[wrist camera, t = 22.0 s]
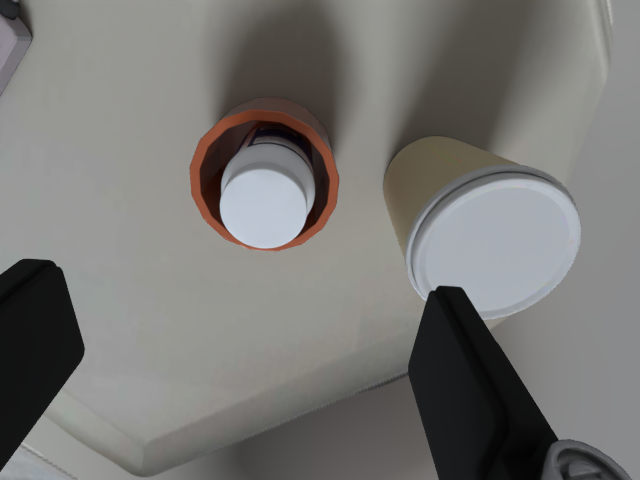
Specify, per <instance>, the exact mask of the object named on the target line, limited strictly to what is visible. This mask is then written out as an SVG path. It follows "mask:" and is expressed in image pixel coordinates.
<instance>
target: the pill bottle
mask: <svg viewBox="0 0 640 480" xmlns="http://www.w3.org/2000/svg"><path fill="white" fill-rule="evenodd" d="M221 194H222V195H221V199H220V214H221V218H222V220H223V223H224V225H225V227H226V228H227V230H228V231H229V232H230V233H231V234H232V235H233V236H234V237H235V238H236V239H238V240H239V241H240V242H242V243H244V244H246V245H249V246H252V247H256V248H275V247H279V246H282V245H284V244H286V243H288V242H290V241H291V240H293V239H294V238H295V237H296V236H297V235H298V234H299V233H300V231H301V230H302V228H303V226H304V224H305V221H306V218H307V215H308V214H309V212H310V210H311V208H312V206H313V203H314V198H315V179H314V170H313V160H312V154H311V151H310V148H309V146H308V144H307V142H306V141H305V139H304V138H303V137H302V136H301V135H300V134H299V133H298V132H296V131H295V130H293V129H292V128H290V127H287V126H284V125H280V124H266V125H262V126H260V127H257V128H255V129H254V130H252V131H251V132H250V133H248V134H247V135H246V136H245V138H244V139H243V140H242V142H241V143H240V145H239V147H238V148H237V150H236V151H235V153H234V155H233V156H232V158H231V160H230V161H229V163H228V164H227V166H226V169H225V171H224V173H223V176H222V182H221Z"/></svg>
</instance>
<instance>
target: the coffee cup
mask: <svg viewBox="0 0 640 480" xmlns="http://www.w3.org/2000/svg"><path fill="white" fill-rule="evenodd" d="M383 191H384V198H385V202H386V205H387V209H388V212H389V215H390V218H391V221H392V224H393V227H394V230H395V233H396V236H397V239H398V242H399V245H400V247H401V250H402V253H403V256H404V259H405V264H406V269H407V273H408V276H409V279H410V281H411V283H412V285H413V287H414V288H415V290H416V291H417V293H418V294H419V295H420V296H421V297H422V298H423V299H424V300H425V301H427V298H428V294H429V292H430V291H432V290H434V291H435V290H436V288H437V287H438V286H440V285H441V286H457V287H462V288H463V290H464V291H465V293H466V294H467V296H468V297H469V299H470V301H471V302H472V304H473V305H474V307H475V309H476V310H477V312H478V314H479V315H480V317H481V318H482V320H487V319H494V318H499V317H504V316H508V315H511V314H513V313H516V312H519V311H521V310H523V309H525V308H527V307H529V306H531V305H532V304H534V303H536V302H538V301H539V300H540V299H542V298H543V297H544V296H545V295H547V294H548V293H549V292H551V290H553V289H554V288H555V287H556V286H557V285H558V283H559V282H560V281H561V280H562V279H563V278H564V276H565V275H566V274H567V272H568V271H569V269H570V267H571V265H572V264H573V262H574V259H575V258H576V255H577V252H578V250H579V246H580V240H581V221H580V217H579V214H578V210H577V208H576V205H575V202H574V200H573V198H572V196H571V194H570V193H569V192H568V190H567V189H566V188H565V187H564V186H563V185H562V184H561V183H560V182H559V181H558V180H556V179H555V178H554V177H552V176H551V175H549V174H547V173H545V172H543V171H540V170H538V169H535V168H531V167H527V166H522V165H519V164H517V163H515V162H512V161H510V160H507V159H505V158H502V157H500V156H497V155H495V154H492V153H490V152H487V151H485V150H482V149H479V148H477V147H474V146H472V145H469V144H467V143H464V142H461V141H459V140H455V139H452V138H449V137H443V136H431V137H425V138H421V139H418V140H416V141H414V142H412V143H410V144H409V145H407V146H406V147H404V148H403V149H402V150H401V151H400V152H398V154H397V155H396V156H395V157H394V158H393V160H392V161H391V163H390V165H389V167H388V169H387V171H386V174H385V178H384V184H383Z"/></svg>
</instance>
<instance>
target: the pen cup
mask: <svg viewBox="0 0 640 480" xmlns="http://www.w3.org/2000/svg"><path fill="white" fill-rule="evenodd" d="M266 124H280V125H284V126H287V127H290V128H292V129H293V130H295V131H296V132H298V133H299V134H300V135H301V136H302V137H303V138H304V139H305V141H306V142H307V144H308V146H309V148H310V151H311V154H312V160H313V170H314V179H315V198H314V203H313V206H312V208H311V210H310V212H309V214H308V215H307V218H306V221H305V224H304V226H303V228H302V230H301V231H300V233H299V234H298V235H297V236H296V237H295V238H294V239H293V240H291V241H290V242H288V243H286V244H284V245H282V246H279V247H275V248H256V247H252V246H249V245H246V244H244V243H242V242H240V241H239V240H238V239H236V238H235V237H234V236H233V235H232V234H231V233H230V232H229V231H228V230H227V228H226V227H225V225H224V223H223V220H222V218H221V214H220V199H221V195H222V194H221V182H222V176H223V173H224V171H225V169H226V166H227V164H228V163H229V161H230V160H231V158H232V156H233V155H234V153H235V151H236V150H237V148H238V147H239V145H240V143H241V142H242V140H243V139H244V138H245V136H246V135H247V134H248V133H250V132H251V131H252V130H254V129H255V128H257V127H260V126H262V125H266ZM190 180H191V194H192V197H193V199H194V201H195V203H196V205H197V207H198V209H199V211H200V213H201V215H202V217H203V219H204V220H205V221H206V222H207V223H208V224H209V225H210V226H211V227H212V228H213V229H215V230H216V231H217V232H218V233H219V234H220V235H221V236H222V237H223V238H225V239H226V240H228V241H231V242H233V243H235V244H238V245H240V246H243V247H245V248H247V249H251V250H264V251H280V250H283V249H287V248H290V247H294V246H297V245H301V244H303V243H304V242H305V241H307V240H308V239H309V238H311V237H312V236H313V235H315V234H316V233H317V232H319V231H320V230H321V229H322V228H323V227H324V226H325V224H326V222H327V221H328V219H329V217H330V215H331V214H332V212H333V210H334V209H335V207H336V203H337V195H338V187H339V175H338V171H337V168H336V164H335V160H334V156H333V153H332V149H331V146H330V142H329V139H328V135H327V132H326V130H325V129H324V128H323V127H322V125H321V124H320V122H319V121H318V120H317V119H316V117H315V116H314V115H313V114H312V113H311V112H310V111H308V110H307V109H305V108H304V107H302V106H301V105H299V104H297V103H295V102H293V101H290V100H287V99H283V98H277V97H260V98H257V99H253V100H250V101H247V102H245V103H242V104H239V105H238V106H236V107H235V108H234V109H233V110H232V111H230V112H229V113H228V114H227V115H226V116H224V117H223V118H222V119H221V120H220V121H219V122H218V123H217V124H216V125H214V126H213V127H212V128H211V129H210V130H209V131H208V132H207V133H206V134H205V135H204V136H203V137H202V138H201V139H200V141H199V143H198V146H197V148H196V151H195V154H194V156H193V159H192V162H191V164H190Z"/></svg>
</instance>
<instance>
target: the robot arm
mask: <svg viewBox="0 0 640 480" xmlns="http://www.w3.org/2000/svg"><path fill="white" fill-rule="evenodd" d="M84 351H85V348H84V343H83V340H82V336H81V333H80V329H79V326H78V322H77V319H76V315H75V312H74V308H73V305H72V302H71V298H70V295H69V291H68V288H67V284H66V281H65V277H64V274H63V271H62V269H61V268H60V267H57V266H56V264H55V263H54V262H53V261H50V260H39V259H22V260H20V261H18V262H17V263H16V264H14V265H13V266H12V267H10V268H9V269H8V270H6V271H5V272H3V273H2V274H1V275H0V472H1V470H2V469H3V467H4V466H5V465H6V463H7V462H8V461H9V459H10V458H11V456H12V455H13V454H14V452H15V451H16V450H17V448H18V447H19V445H20V444H21V443H22V441H23V440H24V438H25V437H26V436H27V435H28V433H29V432H30V430H31V429H32V428H33V426H34V425H35V424H36V422H37V421H38V419H39V418H40V417H41V415H42V414H43V413H44V411H45V410H46V409H47V407H48V406H49V404H50V403H51V402H52V400H53V399H54V398H55V396H56V395H57V393H58V392H59V391H60V389H61V388H62V387H63V385H64V384H65V383H66V381H67V380H68V378H69V377H70V376H71V374H72V373H73V372H74V370H75V369H76V367H77V366H78V365H79V363H80V362H81V360H82V358H83V356H84ZM408 373H409V378H410V382H411V385H412V389H413V392H414V395H415V399H416V403H417V406H418V409H419V413H420V416H421V419H422V423H423V426H424V430H425V433H426V436H427V440H428V443H429V447H430V450H431V453H432V457H433V461H434V464H435V467H436V471H437V474H438V478H439V480H632V479H631V478H630V476H629V475H628V474H627V473H626V471H625V470H624V469H623V468H622V467H620V466H619V465H618V464H617V463H616V462H615V461H614V460H612V458H610V457H609V456H607V455H606V454H604V453H603V452H601V451H600V450H598V449H597V448H594V447H592V446H590V445H588V444H586V443H583V442H579V441H575V440H571V439H568V440H558V438H557V437H556V435H555V433H554V432H553V430H552V429H551V427H550V425H549V424H548V422H547V421H546V419H545V417H544V416H543V414H542V413H541V411H540V409H539V408H538V406H537V405H536V403H535V402H534V400H533V398H532V397H531V395H530V393H529V392H528V390H527V389H526V387H525V385H524V384H523V382H522V381H521V379H520V377H519V376H518V374H517V373H516V371H515V369H514V368H513V366H512V365H511V363H510V361H509V360H508V358H507V357H506V355H505V354H504V352H503V350H502V349H501V347H500V346H499V344H498V343H497V342H496V341H495V339H494V338H493V336H492V334H491V333H490V331H489V330H488V328H487V326H486V325H485V323H484V322H483V320H482V318H481V317H480V315H479V314H478V312H477V310H476V309H475V307H474V305H473V304H472V302H471V301H470V299H469V297H468V296H467V294H466V293H465V291H464V290H463V288H462V287H457V286H441V285H440V286H438V287H437V288H436V290H435V291H434V290H432V291H430V292H429V294H428V298H427V301H426V305H425V308H424V312H423V315H422V319H421V322H420V326H419V329H418V333H417V336H416V340H415V343H414V347H413V350H412V354H411V357H410V361H409V365H408Z"/></svg>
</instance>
